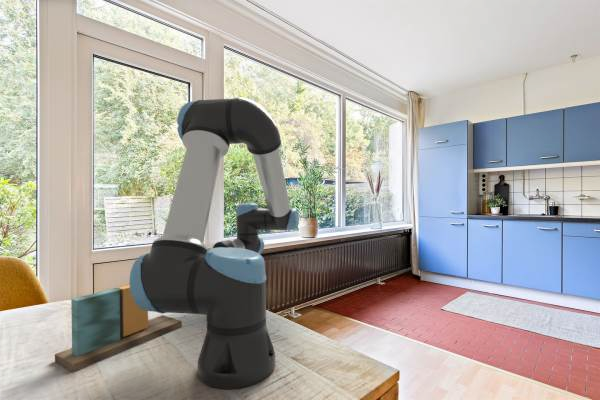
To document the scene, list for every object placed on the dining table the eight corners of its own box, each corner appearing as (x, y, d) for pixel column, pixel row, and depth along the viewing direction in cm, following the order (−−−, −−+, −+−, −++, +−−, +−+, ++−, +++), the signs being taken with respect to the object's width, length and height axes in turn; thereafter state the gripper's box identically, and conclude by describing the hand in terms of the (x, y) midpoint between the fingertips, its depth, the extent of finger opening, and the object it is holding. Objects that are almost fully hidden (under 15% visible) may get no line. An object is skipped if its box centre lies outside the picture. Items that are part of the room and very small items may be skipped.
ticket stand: (162, 320, 86) (162, 274, 86) (181, 326, 81) (181, 277, 81) (54, 361, 64) (54, 299, 64) (72, 372, 60) (71, 306, 60)
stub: (142, 325, 78) (141, 281, 78) (148, 327, 76) (147, 283, 76) (118, 334, 73) (117, 287, 73) (123, 336, 71) (123, 289, 71)
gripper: (257, 267, 96) (203, 285, 77) (202, 259, 109) (145, 272, 91) (257, 243, 95) (203, 255, 77) (202, 238, 108) (144, 247, 90)
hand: (171, 264), depth 84 cm, fingers open, 13 cm apart
